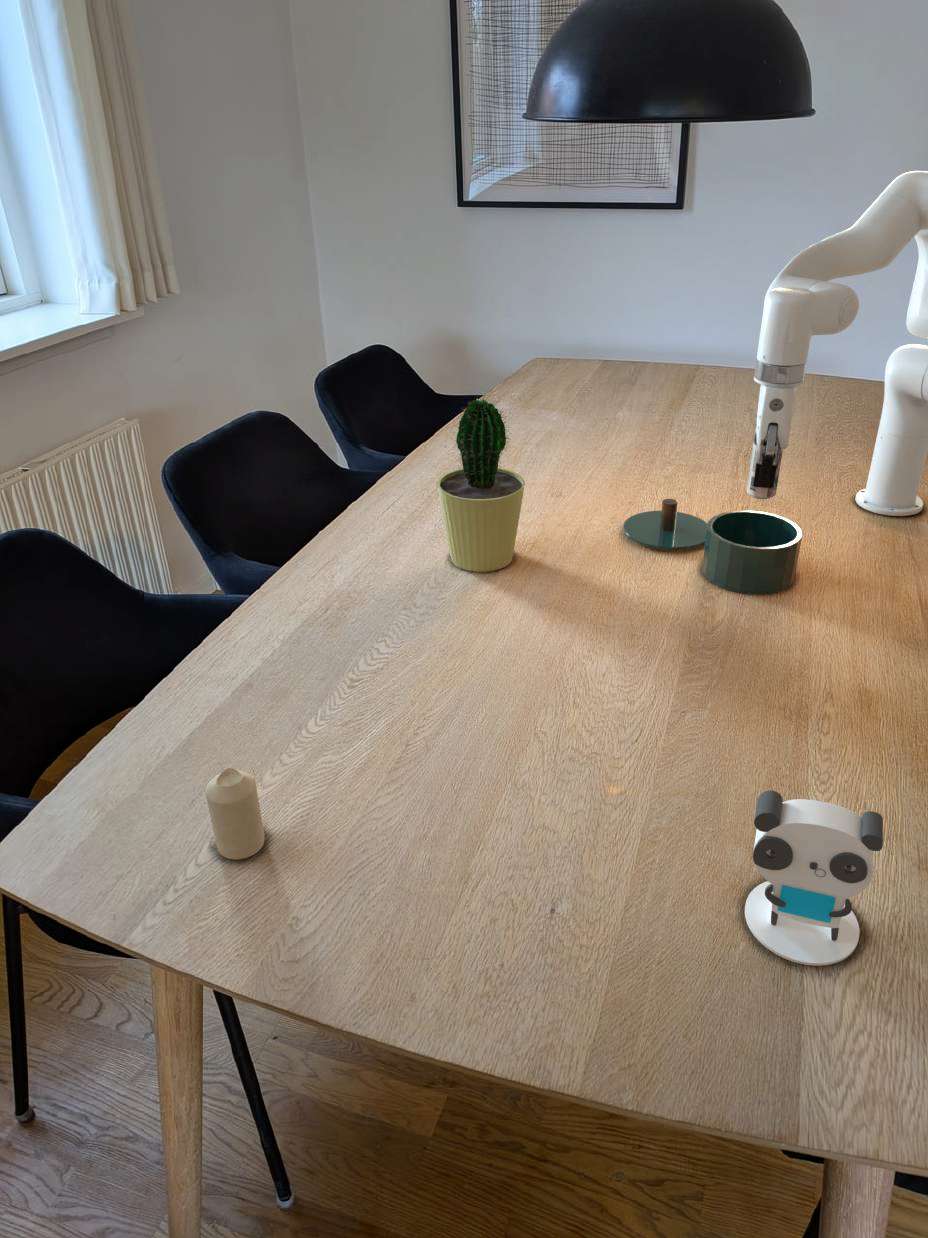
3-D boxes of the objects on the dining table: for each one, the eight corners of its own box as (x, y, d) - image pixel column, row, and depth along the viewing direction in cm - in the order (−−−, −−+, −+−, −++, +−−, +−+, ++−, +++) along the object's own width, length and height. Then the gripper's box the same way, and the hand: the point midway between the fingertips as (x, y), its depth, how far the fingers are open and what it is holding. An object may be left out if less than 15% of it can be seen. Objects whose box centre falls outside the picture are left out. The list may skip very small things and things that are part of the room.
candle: (220, 828, 112) (207, 762, 107) (267, 825, 112) (256, 759, 107) (213, 862, 107) (199, 794, 102) (262, 858, 107) (250, 791, 102)
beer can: (776, 501, 155) (788, 431, 149) (746, 499, 156) (756, 430, 150) (774, 490, 159) (785, 421, 153) (745, 488, 160) (755, 420, 154)
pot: (704, 549, 173) (709, 506, 169) (792, 558, 170) (800, 514, 166) (699, 588, 161) (705, 543, 156) (795, 598, 157) (803, 553, 153)
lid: (628, 512, 188) (630, 481, 185) (713, 520, 184) (717, 488, 181) (617, 548, 175) (620, 515, 171) (709, 557, 171) (713, 523, 167)
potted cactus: (422, 559, 172) (414, 398, 157) (478, 532, 181) (476, 378, 166) (484, 586, 163) (483, 418, 147) (540, 555, 172) (545, 395, 157)
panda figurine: (731, 945, 96) (751, 835, 88) (744, 868, 105) (764, 762, 97) (857, 979, 92) (890, 867, 84) (859, 896, 101) (889, 788, 93)
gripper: (807, 388, 139) (787, 502, 148) (802, 358, 153) (785, 464, 163) (754, 385, 141) (738, 498, 150) (755, 356, 155) (740, 460, 164)
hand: (763, 479), depth 156 cm, fingers closed on beer can, 4 cm apart
